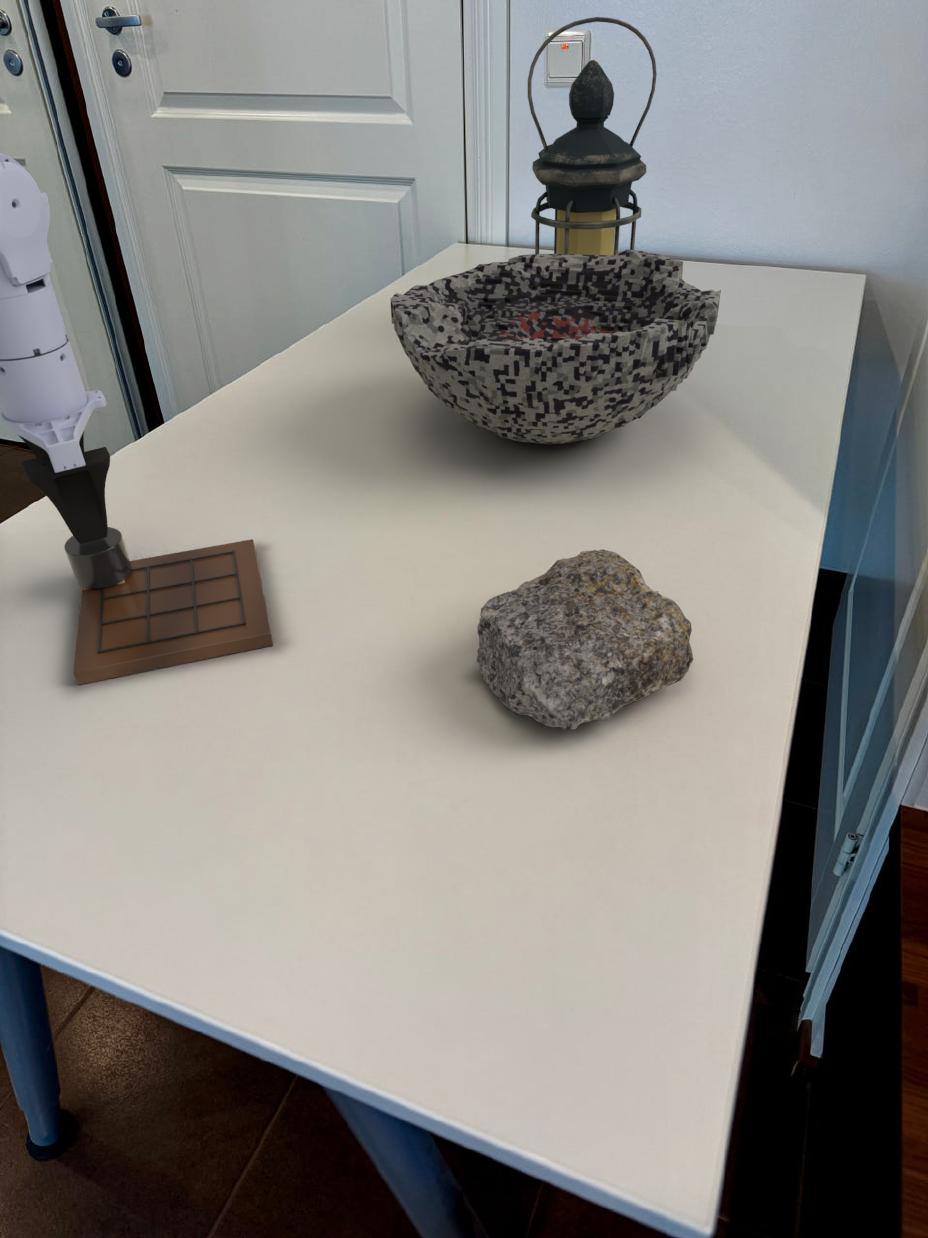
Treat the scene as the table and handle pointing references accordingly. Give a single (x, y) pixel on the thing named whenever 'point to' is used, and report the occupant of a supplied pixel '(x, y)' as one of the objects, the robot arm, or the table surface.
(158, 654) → the board
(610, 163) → the lantern
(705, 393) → the table surface
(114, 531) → the dark grey cylinder
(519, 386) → the bowl
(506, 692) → the rock
